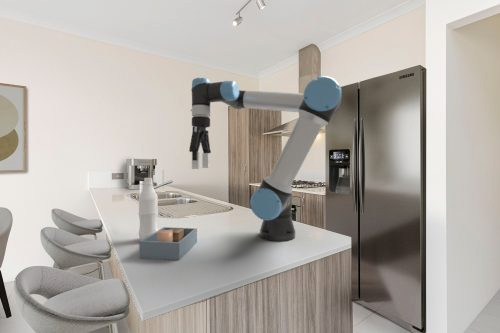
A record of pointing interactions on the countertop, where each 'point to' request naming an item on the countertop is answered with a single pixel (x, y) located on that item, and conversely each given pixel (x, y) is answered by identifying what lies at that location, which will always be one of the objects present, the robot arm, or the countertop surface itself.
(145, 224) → the water bottle
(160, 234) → the capsule
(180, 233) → the cube
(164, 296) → the countertop surface
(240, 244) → the countertop surface
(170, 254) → the tote
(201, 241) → the countertop surface
